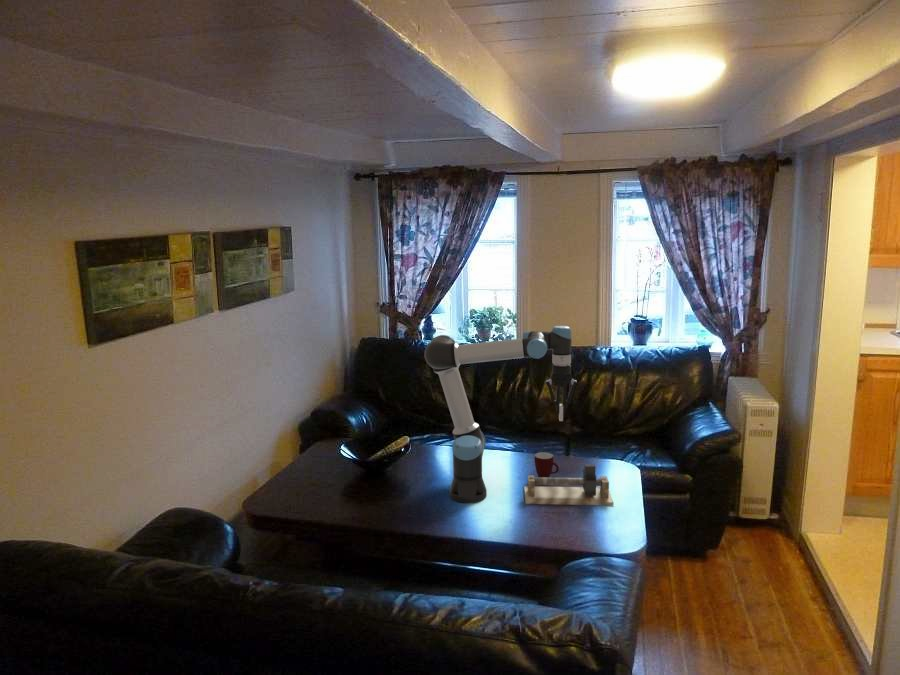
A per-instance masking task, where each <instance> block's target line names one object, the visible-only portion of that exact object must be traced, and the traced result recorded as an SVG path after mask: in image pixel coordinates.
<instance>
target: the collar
mask: <svg viewBox="0 0 900 675" xmlns="http://www.w3.org/2000/svg"><path fill="white" fill-rule="evenodd" d="M583 466H584V468H583V469H582V470H583V474H582V478H585V486H582V487H583V489H584V492H585V495H586V496H596V487H597V486H596V478H597V475H596V464H595V463H590V464H589V463H584V465H583Z"/></svg>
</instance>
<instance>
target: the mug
mask: <svg viewBox="0 0 900 675" xmlns="http://www.w3.org/2000/svg"><path fill="white" fill-rule="evenodd" d="M534 466H535V471H536V474H537V477H547V478H550V477H551V474H553V475H554V474H557V473H559V470H560V468H559V465H558V463H556V462H555V461H554V454H552V453H550V452H545V451H544V452H543V451H541V452H537V453H535V454H534ZM553 466H555V467H556V469H555V471H553Z"/></svg>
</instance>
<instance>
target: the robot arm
mask: <svg viewBox="0 0 900 675" xmlns="http://www.w3.org/2000/svg"><path fill="white" fill-rule="evenodd" d="M547 351H552V353H551V354H552V355H551V357H552V358H551V360H552V361H551V362H552V366H551V376H550V378H548V379H546V380H545V384H546V385H547V387H548V390H549V395H550V400H551V402H552V404H553V405H555V408H556V409H555V410H556V411H555V412H556V413H557V414H558V420H559V422H564V414H565V413H566V411H567V406H568V405H570V404H571V403H572V398H573V397H574V396H573V394H574V392H575V387H576V386H577V384H578V381H577V379H574V378H573V377H572V365H571V364H572V328H571V327H570V326H567V325H554V326H553V327H552V330H549V331H542V330H541V331H538V330H537V331H536V330H533V331H532V330H529V331H523V333H522V338H516V339H515V338H513V339H504V340H495V341H486V342H485V341H484V342H476V343H467V344H466V343H465V344H464V343H463V344H458V343H457V342H456V340H454V338H453V337H451V336H450V335H447V334H442V335H441V334H440V335H437V336H435V337H433V338H432V339H431V340H430V342H429V343H428V344H427V346H426V347H425V349H424V359H425V362H426V364H427V365H429V367H431V368H432V370H433V372H434V373H435V374H437V375H438V377H439V381H440V384H441V387H442V390H443V393H444V397H445V400H446V404H447V407H448V410H449V412H450V417H451V419H452V422H453V427H454V428H453V430H452V434H453V435H452V436H453V439H454V440H453V443H452V465H453V466H452V470H453V471H452V472H453V478H452V481H451V483H450V487H449V491H448V492H449V497H450V499H451V500H453V501H456V502H458V503H463V504H466V503H467V504H470V503H472V504H473V503H479V502H480V501H483V500H484V499H486V498H487V496H488V494H487V487H486V484H485V480H484V478H483V456H484V451H485V448H486V437H485V435H484V433H483V431H481V428H480V424H479V423H478V422H475V420H474V417H473V413H472V409H471V407H470V406H471V405H470V403H469V400H468V397H467V392H466V390H465V387H464V383H463V380H462V377H461V373H460V371H459V370H460V369H459V368H460V366H461V365H465V364H475V363H485V362H495V361H496V362H497V361H505V360H512V359H514V360H515V359H523V358H525V359H526V358H531V359H532V358H533V359H534V360H535V359H537V360H539V359H542V358H543V357H544V356H545V355H546V353H547ZM552 383H553V384H554V385H555V387H556V389H555V390H556V392H555V393H556V395H555V396H554V391H553V388H552ZM569 384H570V389H569V393H568V396H567V387H568V385H569ZM561 387H562V403H560V400H561V399H560V398H561Z"/></svg>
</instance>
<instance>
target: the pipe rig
mask: <svg viewBox="0 0 900 675" xmlns="http://www.w3.org/2000/svg"><path fill="white" fill-rule="evenodd" d="M583 486H585V478H583V477H549V478H547V477H539V476H537V477H536V476H535V475H533V474H531V475H529V474H528V475H527V486H525V485H524V488H523V489H524V500H525V504H526V505H568V506H570V505H572V506H573V505H574V506H575V505H579V506H580V505H581V506H614V500H613V497H612V495H611V492H610V490H609V488H610V481H609V479H608V476H605V475H601V476H600V477H596V496H586V495H585V492H584V489H583Z"/></svg>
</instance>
